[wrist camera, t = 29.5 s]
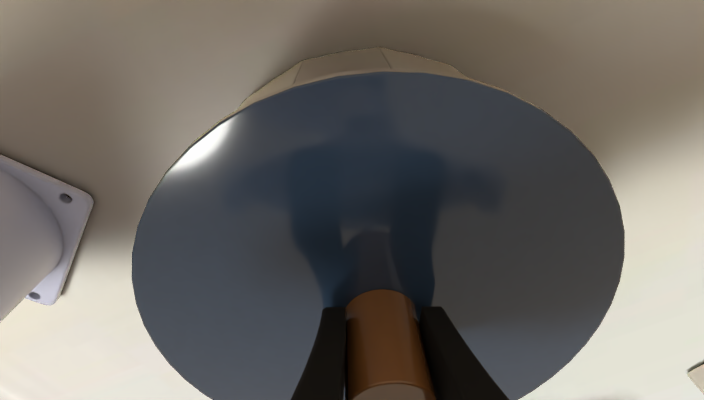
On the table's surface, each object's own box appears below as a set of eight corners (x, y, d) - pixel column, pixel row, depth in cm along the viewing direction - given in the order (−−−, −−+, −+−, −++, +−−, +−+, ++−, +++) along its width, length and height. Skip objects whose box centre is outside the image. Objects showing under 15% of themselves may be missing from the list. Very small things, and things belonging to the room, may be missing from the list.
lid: (153, 396, 16) (99, 520, 12) (131, -10, 8) (-31, -3, 5) (488, 430, 18) (526, 543, 15) (713, 134, 11) (912, 216, 7)
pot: (207, 293, 21) (160, 405, 15) (223, 5, 14) (146, 23, 8) (452, 328, 23) (487, 437, 17) (577, 95, 16) (704, 156, 10)
